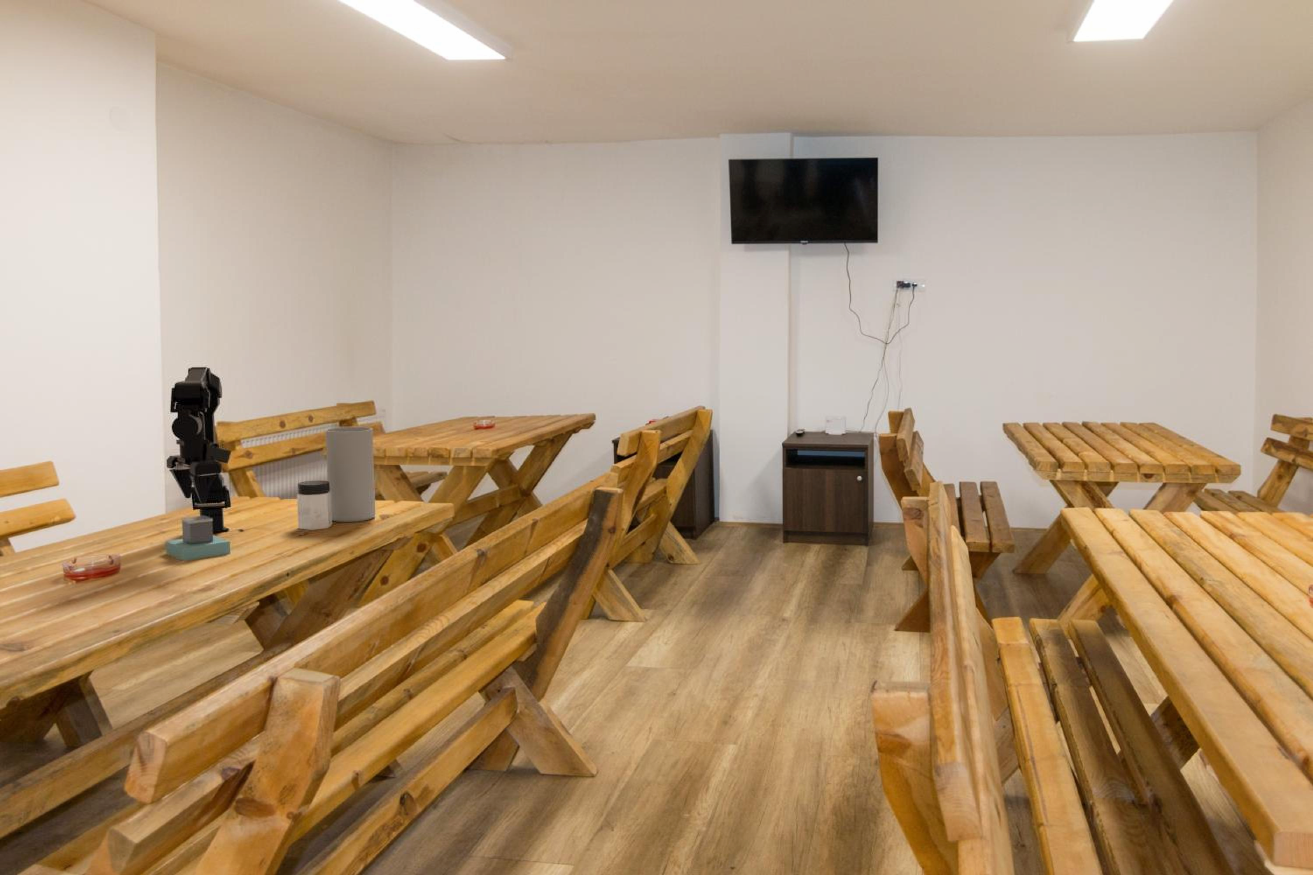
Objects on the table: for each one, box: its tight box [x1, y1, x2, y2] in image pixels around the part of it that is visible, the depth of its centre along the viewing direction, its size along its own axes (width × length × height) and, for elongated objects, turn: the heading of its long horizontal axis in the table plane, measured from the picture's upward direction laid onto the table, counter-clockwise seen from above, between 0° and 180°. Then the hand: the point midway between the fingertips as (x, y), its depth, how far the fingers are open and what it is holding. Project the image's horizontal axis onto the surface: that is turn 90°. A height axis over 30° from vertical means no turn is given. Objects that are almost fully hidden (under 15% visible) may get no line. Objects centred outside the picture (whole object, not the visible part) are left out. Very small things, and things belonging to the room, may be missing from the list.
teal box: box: [165, 534, 231, 561], centre depth 262 cm, size 11×11×4 cm
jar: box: [296, 480, 333, 531], centre depth 293 cm, size 9×8×12 cm
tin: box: [181, 515, 214, 544], centre depth 261 cm, size 5×5×6 cm
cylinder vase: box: [324, 426, 376, 523], centre depth 304 cm, size 12×12×25 cm
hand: (195, 500), depth 261 cm, fingers open, 9 cm apart
